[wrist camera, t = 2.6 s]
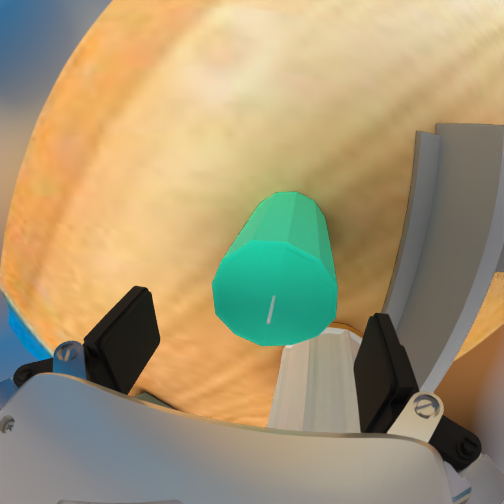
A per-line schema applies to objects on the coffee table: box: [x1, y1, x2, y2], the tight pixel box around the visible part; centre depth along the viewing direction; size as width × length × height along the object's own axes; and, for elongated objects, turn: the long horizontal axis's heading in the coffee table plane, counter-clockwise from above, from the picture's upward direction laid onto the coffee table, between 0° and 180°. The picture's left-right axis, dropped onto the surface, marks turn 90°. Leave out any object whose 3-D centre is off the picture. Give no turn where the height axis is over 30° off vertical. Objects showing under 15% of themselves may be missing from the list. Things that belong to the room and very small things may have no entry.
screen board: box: [382, 124, 504, 393], centre depth 16 cm, size 5×20×9 cm, turn 179°
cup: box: [267, 323, 363, 433], centre depth 19 cm, size 11×11×17 cm
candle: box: [212, 192, 338, 346], centre depth 16 cm, size 6×6×12 cm
